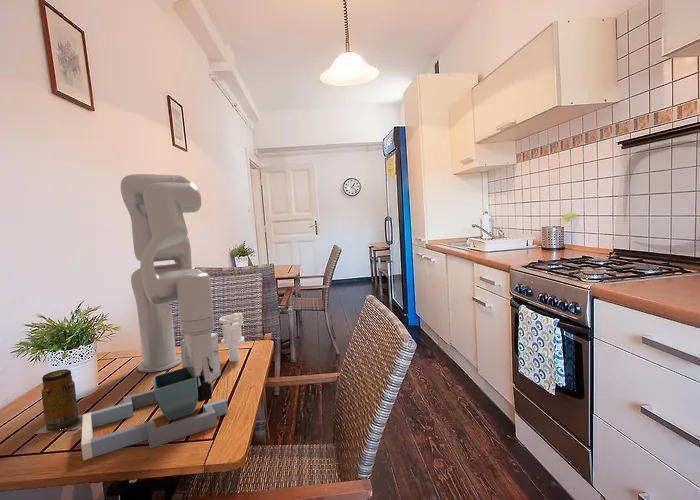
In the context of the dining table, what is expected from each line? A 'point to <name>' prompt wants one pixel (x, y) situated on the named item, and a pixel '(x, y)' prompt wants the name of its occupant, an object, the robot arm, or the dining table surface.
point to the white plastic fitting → (232, 334)
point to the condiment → (59, 402)
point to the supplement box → (216, 356)
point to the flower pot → (176, 393)
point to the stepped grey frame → (143, 425)
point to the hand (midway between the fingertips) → (204, 399)
